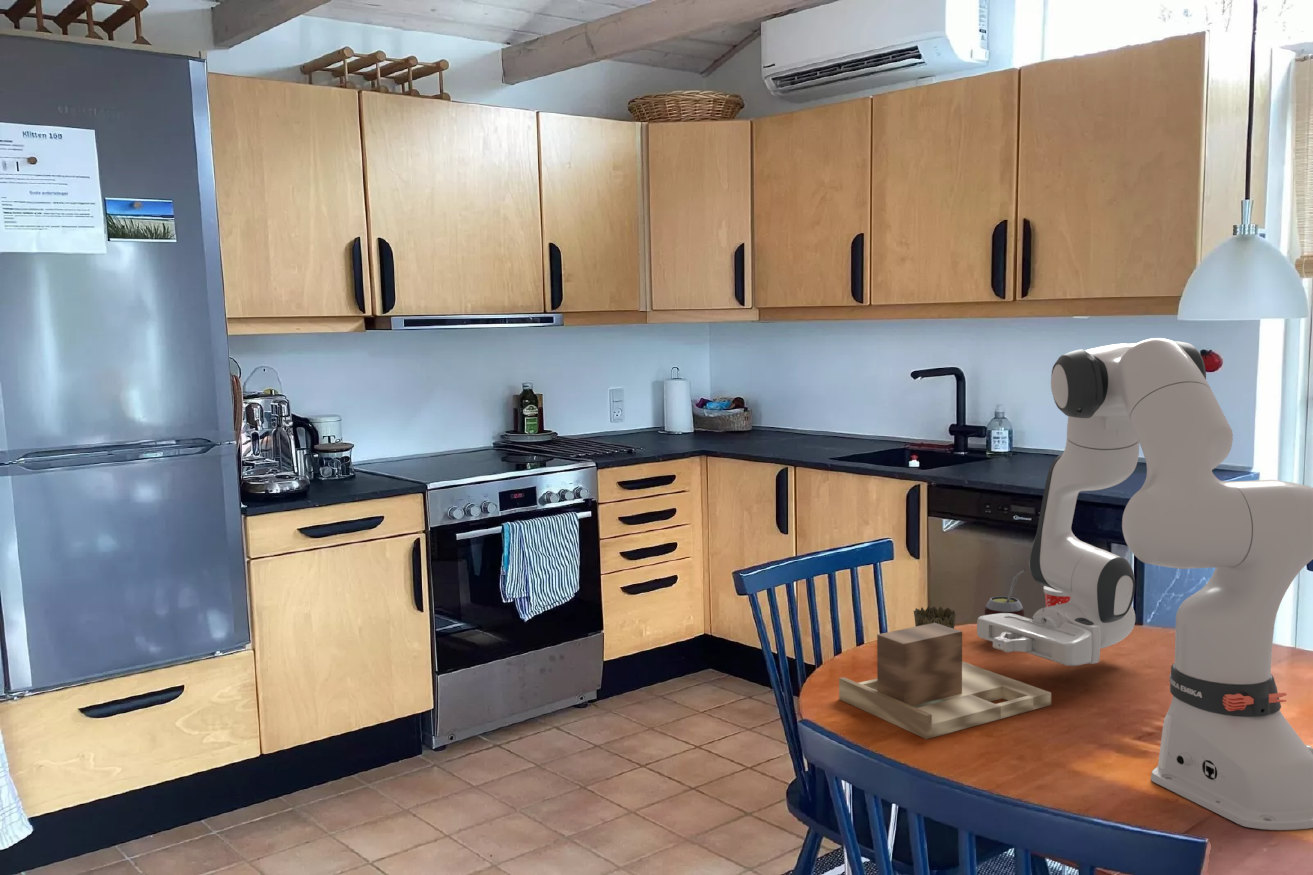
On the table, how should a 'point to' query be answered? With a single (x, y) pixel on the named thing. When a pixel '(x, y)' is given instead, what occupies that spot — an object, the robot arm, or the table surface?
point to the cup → (935, 616)
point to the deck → (949, 703)
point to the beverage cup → (1055, 597)
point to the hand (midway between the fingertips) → (999, 645)
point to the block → (920, 663)
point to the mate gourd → (1005, 602)
